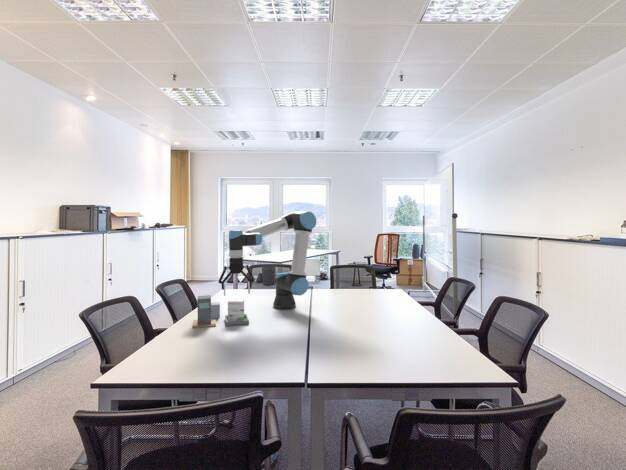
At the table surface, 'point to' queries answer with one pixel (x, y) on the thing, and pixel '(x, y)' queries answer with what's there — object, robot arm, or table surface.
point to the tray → (233, 323)
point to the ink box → (236, 310)
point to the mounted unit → (204, 313)
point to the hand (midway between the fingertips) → (237, 294)
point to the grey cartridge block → (215, 310)
